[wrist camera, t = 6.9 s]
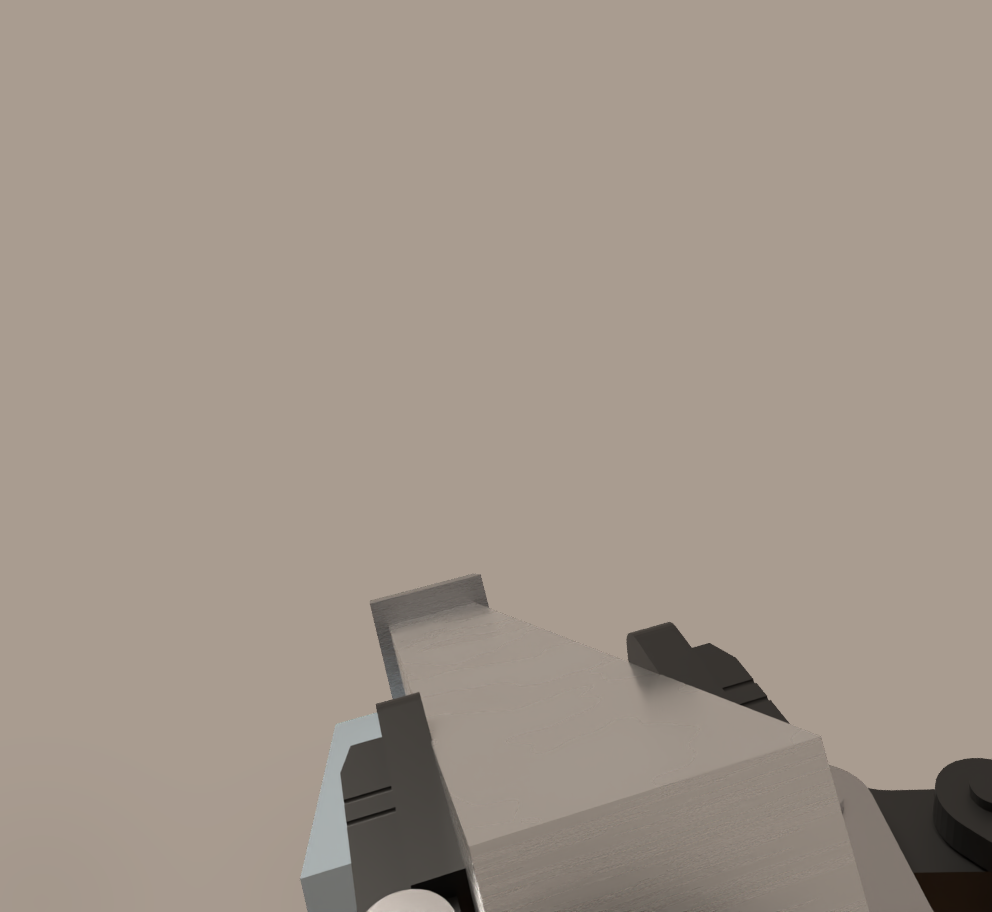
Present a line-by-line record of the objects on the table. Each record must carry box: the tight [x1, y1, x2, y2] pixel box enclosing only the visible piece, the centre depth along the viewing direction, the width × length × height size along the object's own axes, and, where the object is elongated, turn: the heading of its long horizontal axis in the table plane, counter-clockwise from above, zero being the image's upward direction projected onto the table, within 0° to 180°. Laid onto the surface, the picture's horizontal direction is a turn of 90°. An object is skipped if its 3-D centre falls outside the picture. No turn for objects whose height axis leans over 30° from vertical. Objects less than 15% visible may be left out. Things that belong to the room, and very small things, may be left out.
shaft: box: [370, 574, 869, 912], centre depth 23 cm, size 30×4×4 cm, turn 9°
